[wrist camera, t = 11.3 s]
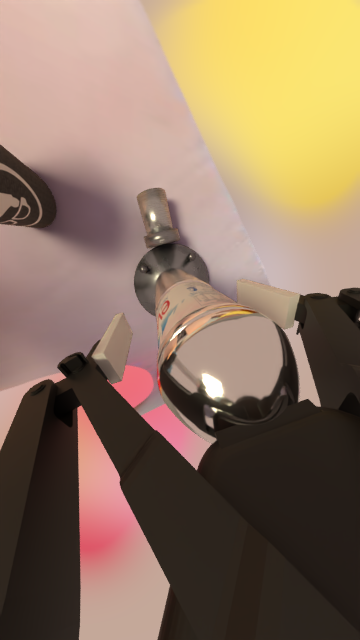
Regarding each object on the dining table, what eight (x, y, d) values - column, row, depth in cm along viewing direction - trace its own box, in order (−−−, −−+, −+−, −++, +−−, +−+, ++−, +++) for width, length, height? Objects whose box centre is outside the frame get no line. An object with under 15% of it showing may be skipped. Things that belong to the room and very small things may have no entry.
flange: (149, 325, 29) (148, 338, 24) (105, 211, 20) (90, 197, 15) (210, 307, 30) (220, 317, 25) (195, 190, 20) (207, 171, 16)
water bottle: (166, 259, 23) (558, 416, 1) (197, 279, 25) (499, 457, 3) (148, 293, 25) (101, 612, 3) (179, 309, 27) (285, 544, 5)
